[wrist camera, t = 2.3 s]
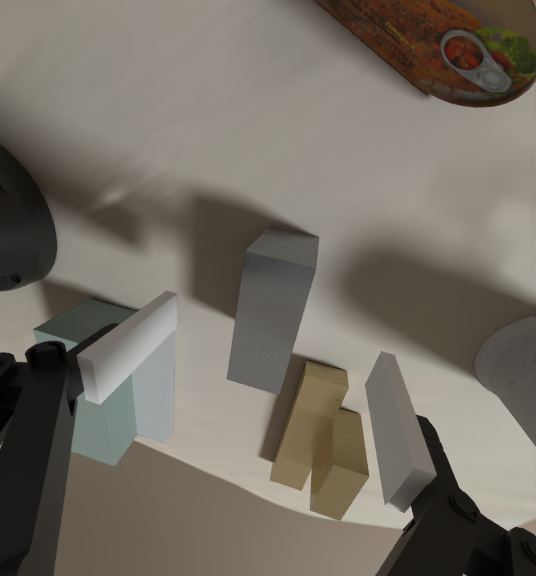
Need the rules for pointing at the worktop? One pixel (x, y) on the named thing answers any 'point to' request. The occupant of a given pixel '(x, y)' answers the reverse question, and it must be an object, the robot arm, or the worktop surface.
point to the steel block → (271, 307)
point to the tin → (450, 44)
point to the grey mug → (512, 370)
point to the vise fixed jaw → (127, 396)
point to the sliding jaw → (322, 443)
